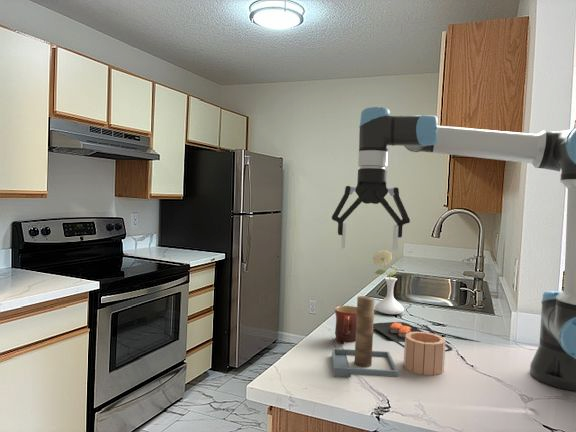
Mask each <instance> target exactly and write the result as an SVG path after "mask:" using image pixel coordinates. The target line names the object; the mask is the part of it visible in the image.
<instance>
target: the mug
mask: <svg viewBox="0 0 576 432" xmlns="http://www.w3.org/2000/svg"><path fill="white" fill-rule="evenodd" d="M333 310H334V313H335V319H336V320H335V331H334V334H335V340H336V341H337V342H338V343H340V344H343V345H345V343H353V342H355V341H356V319H357V306H353V305H338V306H335V307H334V308H333Z"/></svg>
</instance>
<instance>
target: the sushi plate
mask: <svg viewBox="0 0 576 432" xmlns="http://www.w3.org/2000/svg"><path fill="white" fill-rule="evenodd" d="M424 326H425V327H426V328H427V329H426V328H424V327H423V328H422V327H418V326H415V325H412V324H409V323H407V322H404V321H389V322H376V323H373V330H375V331H377V332H379V333H380V334H382V335H383V336H385V337H387V338H388V339H390V340H391V341H393V342H394V343H396V344H398V345H400V346H401V347H403V348H404V347H405V344H402V343H405V335H406V334H407V333H409V332H424V331H425V332H426V331H427V332H429V333H432V334H437V335H442V336H443V335H444V336H446V337H452V338H455V339H460V340H464V341H470V342H475V343H476V342H477V343H481V341H478V340H474V339H469V338H467V337H462V336H458V335H457V336H456V335H453V334H448V333H444V332H439V331H435V330H432V329H431V328H430V327H429V326H428V325H426V324H425V325H424ZM445 348H446V349H445V352H450V351H453V347H451V345H449V344H447V343H445Z"/></svg>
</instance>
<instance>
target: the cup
mask: <svg viewBox="0 0 576 432" xmlns="http://www.w3.org/2000/svg"><path fill="white" fill-rule="evenodd" d="M445 344H447V343H446V339H445V337H443V336H440V334H437V333H435V334H433V333H432V332H428V331H427V332H426V331H423V332H409V333H407V334H406V335H405V342H404V346H405V347H403V348H404V349H403V350H404V351H403V366H404V368H405V369H406V370H408V371H410V372H411V373H414V374H418V375H422V376H423V375H424V376H438V375H441V374H443V372H445V358H446V351H445V350H446V346H445Z"/></svg>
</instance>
